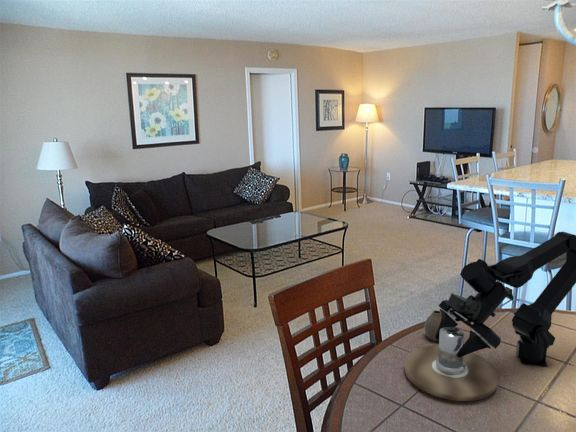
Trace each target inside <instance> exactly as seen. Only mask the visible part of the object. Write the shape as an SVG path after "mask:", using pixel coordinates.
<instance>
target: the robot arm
mask: <svg viewBox="0 0 576 432" xmlns="http://www.w3.org/2000/svg"><path fill="white" fill-rule="evenodd" d="M564 254H565V262H564V263H563V265H562V266H561V267H560V268H559V269H558V271H557V272H556V273H555V274H554V276H553V277H552V279H551V280H550V281H549V283H548V284H547V285H546V286H545V288H544V289H543V290H542V291H541V293H540V294H539V296H537V298H536V300H535V301H534V302H532V303H529V304H526V303H524V302H523V303H522V304H520V306H519V307H518V309H517V310H516V311H515V312H513V315H514V316H513V317H512V319H511V323H512V324H511V325H512V328H513V329H514V333H515V334H516V335H518V336H519V340H517V341H516V350H515V353H516V356H517V358H518V360H519V362H520V364H521V365H529V366H538V367H545V368H546V367H548V362H547V354H548V349H549V348H550V346H551V347H552V346H554V343H555V341H556V337H555V336H554V334H552V333H551V332H550V331H549V330H550V328H551V327H552V317H553V314H554V312H555V311H556V309H557V308H558V307H559V306H560V304H561V303H562V302H563V300H564V299H565V298H566V296H567V295H568V294H569V292H570V291H571V290H572V288H573V287H574V286H575V285H576V234H573V233H570V232H566V231H559V232H556V234H555V235H554V236H552V237H551V238H548V240H546V241H544V242H542V243H541V244H539V245H537V246H535V247H533V248H532V249H530V250H528V251H526V253H523V254H521V255H515V256H508V257H506V258H504V259H501V260H499V261H498V262H497V263H495V264H491V265H489V264H488V263H487V262H486V261H485V260H484V259H481V258H478V259H477V260H476V261H473V262H469V263H468V264H465V265H464V266H463V268H462V269H461V271H460V277H461V278H462V279H463V281H465V282H466V284H468V285H469V286H470V287H471V288H472V289H473V290H474V291H475V292H477V293H476V294H475V296H473V295H472V294H471V295H469V296H468V297H467V298H466V297H463V296H461V295H458V294H455V293H453V292H451V294H450V295H449V297H448V299H443V300H442V301H441V302H440V303H439V304H438V307H439V311H440V312H441V316H442V319H441V322H440V325H439V328H438V330H437V333H436V336H435V338H436V339H437V340H439V334H440V329H441V328H444V327H454V328H457V326H458V325H459V323H458V322H461V323H463V324H464V325H466V326H467V327H469V328H470V331H469V335H468V338H467V339H466V341H464V345H463V346H462V347H461V348H460V350H459V351H458V353H457V354H456V355H457V356H458V357H459V358H460V357H462V356H465V355H467V354H470V353H472V352H473V353H475V352H478V351H481V350H484V349H488V350H490V349H491V348H493V349H497V348H498V347H499V346H500V344H501V339H502V338H501V337H500V336H499V335H498V334H497V333H496V332H495V331H494V330H493V329H492V328H490V327H489V326H487V325H485V324H484V323H486V321H487V320H488V318H489V317H491V318H495V316H496V315H497V314H496V313H495V311H496V309H498V307H499V306H500V305H501V304H502V303H503V302H504V300H505V299H508V300H510V301H513V300H514V294H513V289H512V288H515V289H519V288H521V287H523V286H524V285H525V284H526V283H528V282H529V281H530V280H532V278H533V276H534V273H536V271H537V270H539V269H540V268H542V267H545V265H548V264H549V263H551V262H552V261H554V260H556V259H557V258H559V257H561V256H562V255H564ZM505 285H508V286H510V287H508V286H505ZM511 287H512V288H511ZM471 329H472V330H471Z"/></svg>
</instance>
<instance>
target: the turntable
mask: <svg viewBox="0 0 576 432" xmlns="http://www.w3.org/2000/svg"><path fill="white" fill-rule="evenodd" d="M437 357H439V345H429V346H428V345H426V346H423V347H420V348H415V349H413V350H412V351H411V352H409V353H408V354H407V355H406V357H405V360H404V372H405V375H406V377H407V379H408V380H409V381H410V383H412V384H413V385H414V386H415V387H416V388H418V389H419V390H421V391H423V392H425V393H427V394H429V395H432V396H434V397H437V398H440V399H446V400H450V401H457V402H459V401H460V402H469V401H471V402H473V401H478V400H482V399H485V398H487V397H490V396H491V395H493V393H495V391H496V390H497V388H498V385H499V374H498V371H497V369H496V367H495V366H493V364H492V363H491V362H489V360H487V359H486V358H484V357H483V356H481V355H479V354H477V353H475V352H472V353H470V354H467V355H465V356H463V361H464V362H465V371H464V373H462V374H460V375H449V374H445V373H443V372H441V371H439V370H438V369H437V368H436V359H437Z"/></svg>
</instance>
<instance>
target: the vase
mask: <svg viewBox="0 0 576 432" xmlns="http://www.w3.org/2000/svg"><path fill="white" fill-rule="evenodd" d="M441 319H442V316H441V312H440V310H439V309H438V310H436V309H434V310H433V311H432V312H431V314H430V315H429V316H428V317H427V318H426V320H425V322H424V332H425V335H426V337H427V338H428V339H430V340H431V341H433V342H439V340H437V339H436V338H435V336H436V333H437V330H438V328H439V325H440V322H441Z"/></svg>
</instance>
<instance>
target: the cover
mask: <svg viewBox="0 0 576 432" xmlns="http://www.w3.org/2000/svg"><path fill="white" fill-rule="evenodd" d="M464 343H465V332H464V331H463V330H461V328H460V329H459V328H457V327H455V328H454V327H444V328H441V329H440V334H439V341H438V346H439V357H437V359H436V368H437V369H438V370H439V371H441V372H443V373H445V374H449V375H460V374H462V373H464V371H465V362H464V361H463V356H462V357H460V358H459V357H458V356H457V355H456V354H457V353H458V351H459V350H460V348H461V347H462V346H463V345H464Z"/></svg>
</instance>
